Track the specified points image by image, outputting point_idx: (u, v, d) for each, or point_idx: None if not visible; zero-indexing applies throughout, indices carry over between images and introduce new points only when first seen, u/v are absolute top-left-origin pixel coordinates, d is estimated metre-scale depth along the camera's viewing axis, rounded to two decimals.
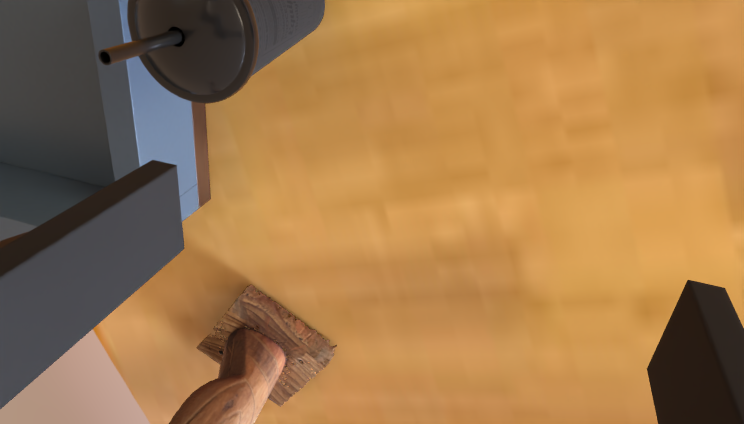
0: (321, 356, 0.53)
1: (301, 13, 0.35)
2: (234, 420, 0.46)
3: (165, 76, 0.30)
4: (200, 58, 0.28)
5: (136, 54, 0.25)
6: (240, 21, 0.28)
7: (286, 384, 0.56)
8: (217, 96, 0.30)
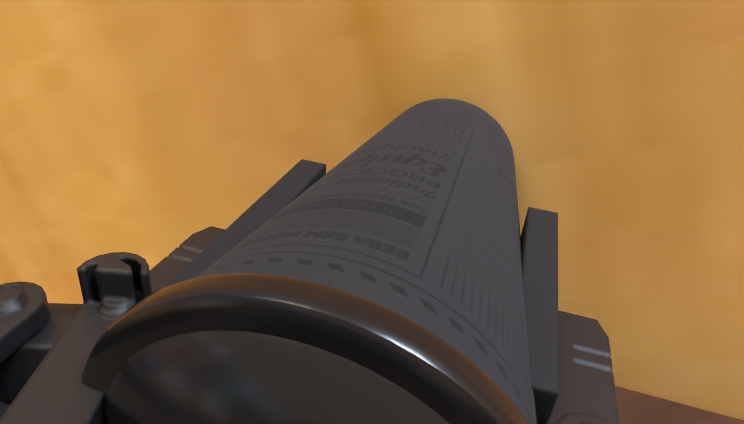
0: None
1: (417, 139, 0.14)
2: None
3: None
4: None
5: None
6: (220, 337, 0.07)
7: None
8: None
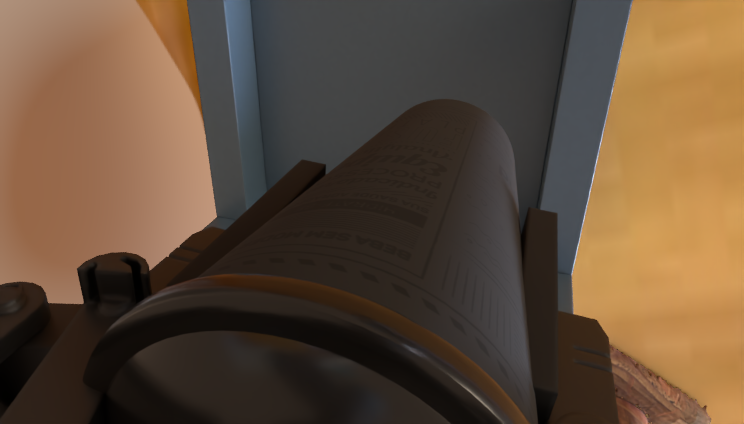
0: (699, 422, 0.43)
1: (418, 138, 0.14)
2: None
3: None
4: None
5: None
6: (221, 337, 0.07)
7: None
8: None
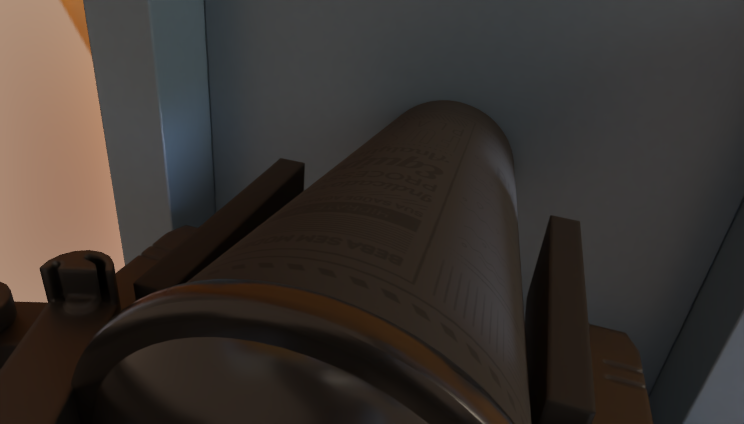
0: None
1: (415, 140, 0.14)
2: None
3: None
4: None
5: None
6: (207, 343, 0.07)
7: None
8: None
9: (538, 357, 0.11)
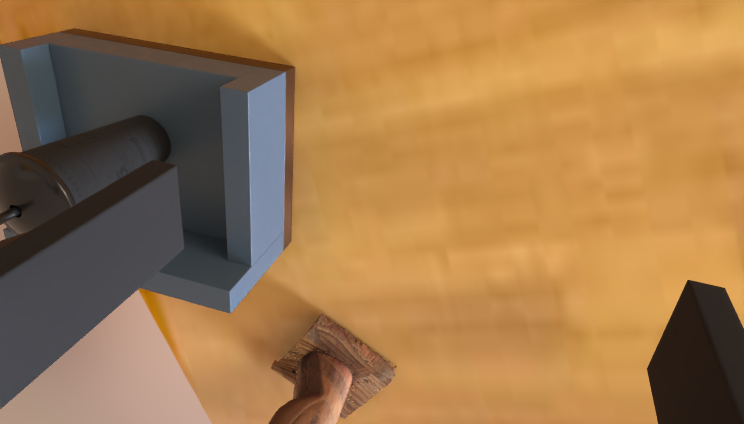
0: (384, 376, 0.62)
1: (100, 129, 0.45)
2: None
3: None
4: (24, 197, 0.38)
5: None
6: (5, 162, 0.38)
7: (351, 400, 0.64)
8: (61, 194, 0.38)
9: None
